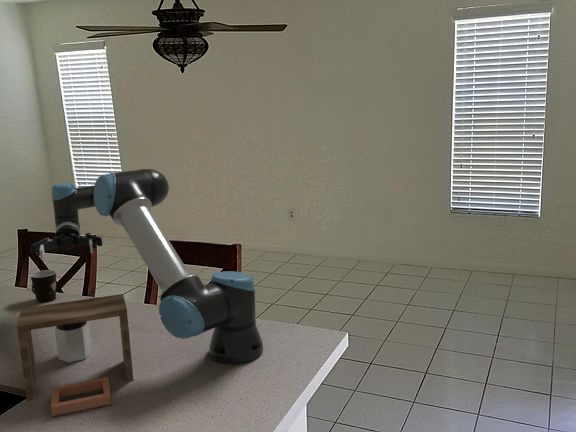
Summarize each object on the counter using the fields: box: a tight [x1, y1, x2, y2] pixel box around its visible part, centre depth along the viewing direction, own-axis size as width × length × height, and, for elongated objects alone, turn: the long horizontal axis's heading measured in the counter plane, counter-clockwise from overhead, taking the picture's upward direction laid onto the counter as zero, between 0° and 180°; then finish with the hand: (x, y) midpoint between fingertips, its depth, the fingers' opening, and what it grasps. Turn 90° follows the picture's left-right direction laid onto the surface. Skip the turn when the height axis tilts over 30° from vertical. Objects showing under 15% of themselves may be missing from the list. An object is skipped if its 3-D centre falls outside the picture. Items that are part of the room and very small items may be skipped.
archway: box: [16, 293, 134, 402], centre depth 140 cm, size 12×25×20 cm, turn 111°
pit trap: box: [50, 376, 112, 418], centre depth 132 cm, size 10×13×2 cm
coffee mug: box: [29, 269, 57, 304], centre depth 198 cm, size 12×9×10 cm
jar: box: [54, 321, 93, 363], centre depth 154 cm, size 9×8×12 cm
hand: (66, 251), depth 159 cm, fingers open, 13 cm apart
